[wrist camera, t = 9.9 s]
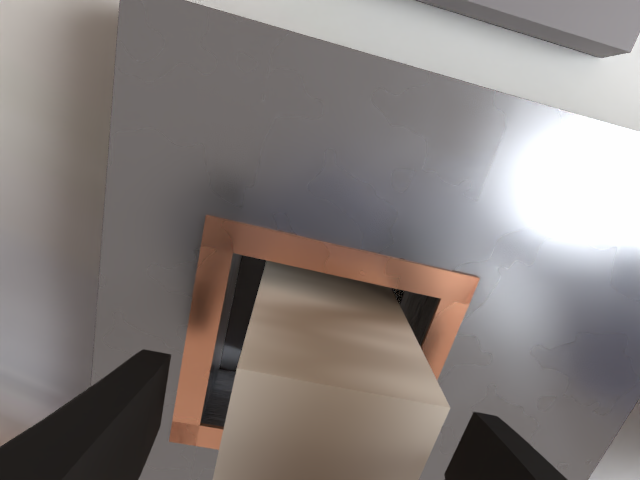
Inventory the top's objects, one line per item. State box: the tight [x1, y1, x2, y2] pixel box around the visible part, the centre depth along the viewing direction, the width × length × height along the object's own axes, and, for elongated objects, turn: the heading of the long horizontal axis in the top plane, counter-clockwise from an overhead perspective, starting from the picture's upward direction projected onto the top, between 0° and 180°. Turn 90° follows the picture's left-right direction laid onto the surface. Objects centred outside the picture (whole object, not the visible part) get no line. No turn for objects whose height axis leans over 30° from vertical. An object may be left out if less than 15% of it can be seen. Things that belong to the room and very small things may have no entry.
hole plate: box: [91, 0, 640, 480], centre depth 12 cm, size 16×16×3 cm
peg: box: [213, 260, 450, 480], centre depth 10 cm, size 4×4×6 cm
